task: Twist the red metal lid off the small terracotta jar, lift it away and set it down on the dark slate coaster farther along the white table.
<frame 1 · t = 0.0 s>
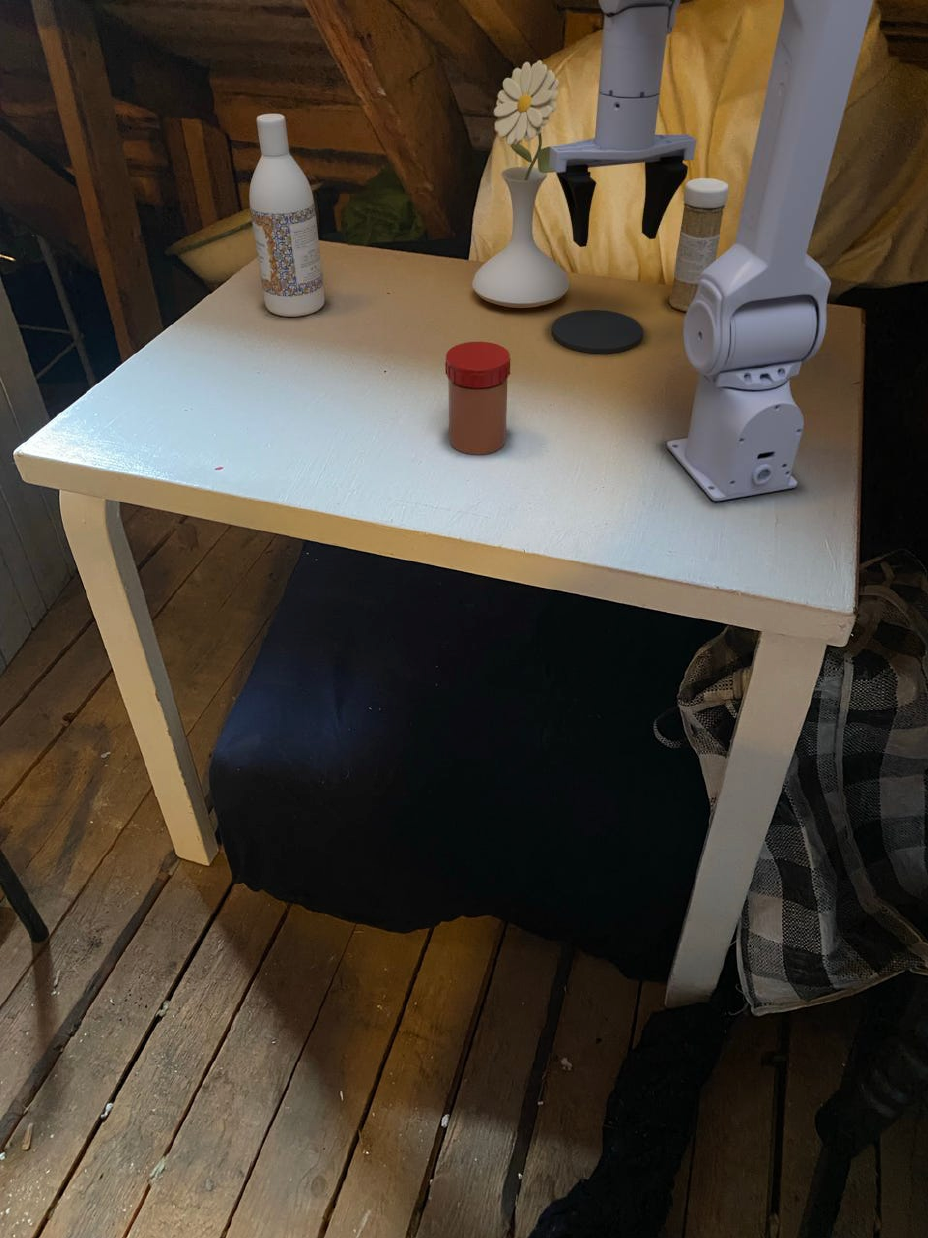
hand: (614, 239, 95), 10 cm above the table, tool pointing down, fingers open, 7 cm apart
coaster: (596, 333, 102), on the table
lid: (477, 359, 80), point 8 cm above the table, screwed on, not yet turned
bath foam: (295, 307, 108), on the table
jar: (477, 439, 85), on the table
sprinkles bottle: (687, 307, 107), on the table
flower in vase: (522, 301, 109), on the table
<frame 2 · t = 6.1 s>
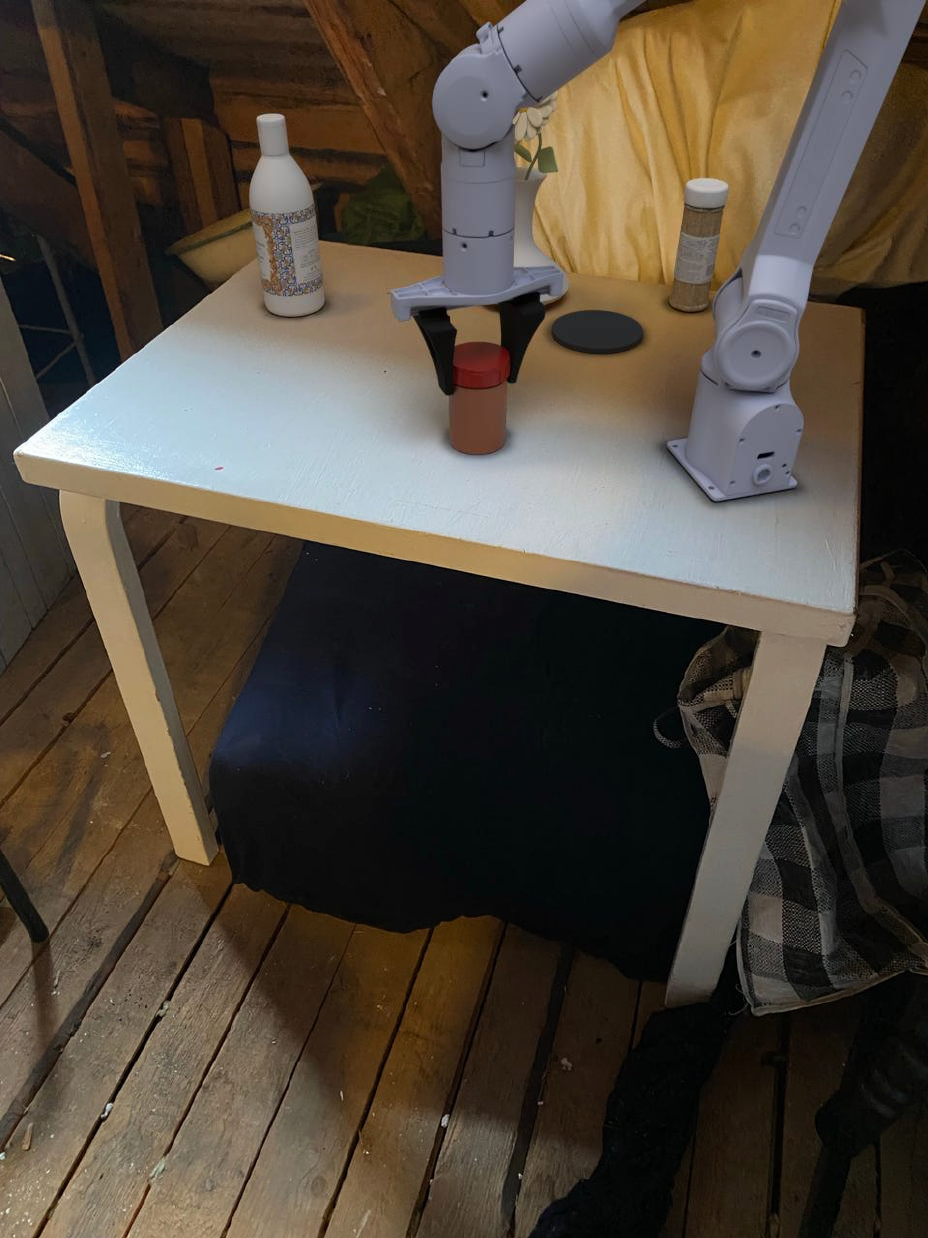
hand: (478, 384, 81), 6 cm above the table, tool pointing down, fingers closed on lid, 5 cm apart
lid: (477, 359, 80), point 8 cm above the table, screwed on, not yet turned, touching gripper
everything else where it was.
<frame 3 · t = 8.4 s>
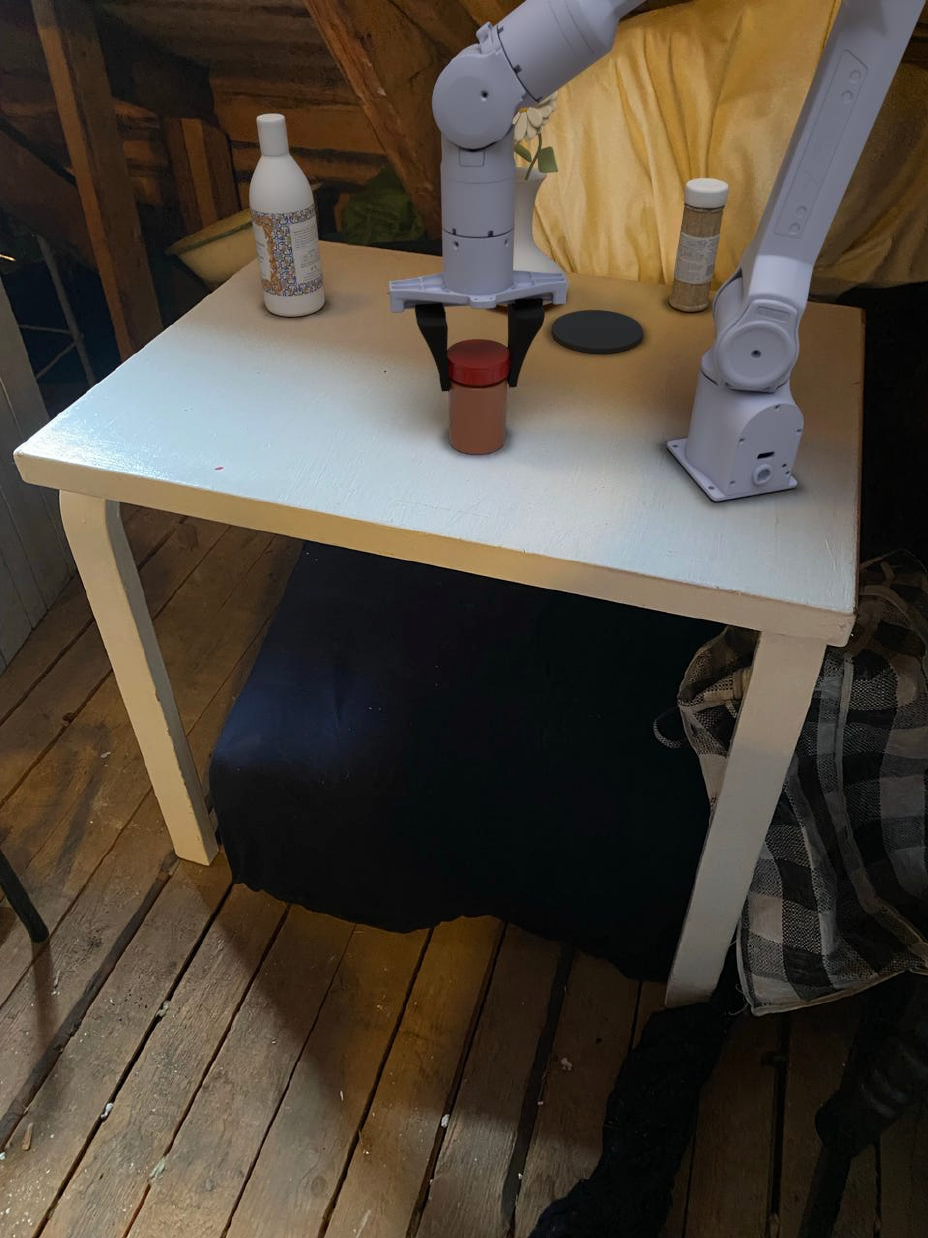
hand: (477, 384, 81), 6 cm above the table, tool pointing down, fingers closed on lid, 5 cm apart
lid: (478, 356, 80), point 8 cm above the table, off its thread, touching gripper
jar: (477, 439, 85), on the table, touching gripper
everything else where it was.
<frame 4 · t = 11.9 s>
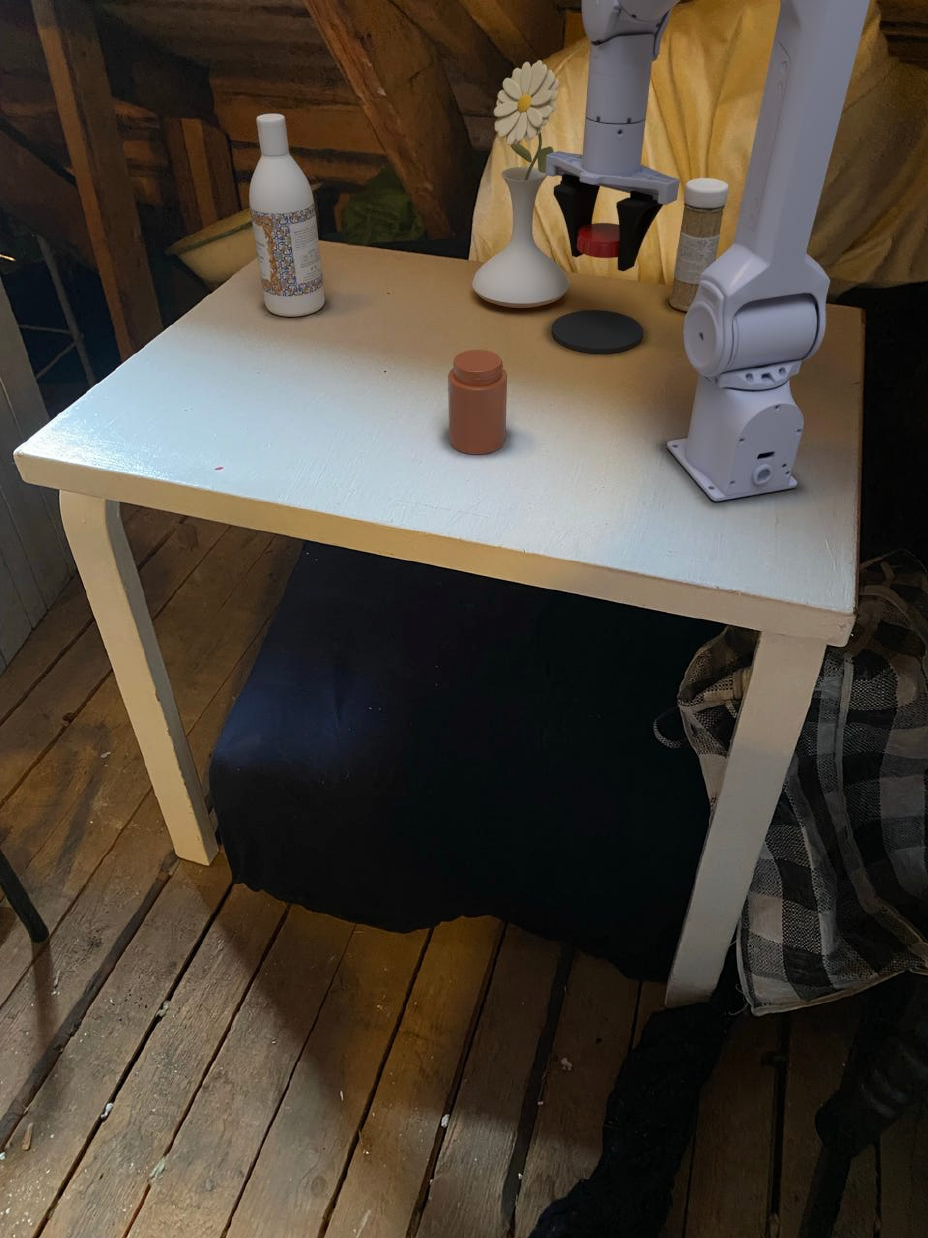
hand: (602, 260, 96), 8 cm above the table, tool pointing down, fingers closed on lid, 5 cm apart
lid: (605, 235, 94), point 11 cm above the table, off its thread, touching gripper
jar: (477, 439, 85), on the table
everything else where it was.
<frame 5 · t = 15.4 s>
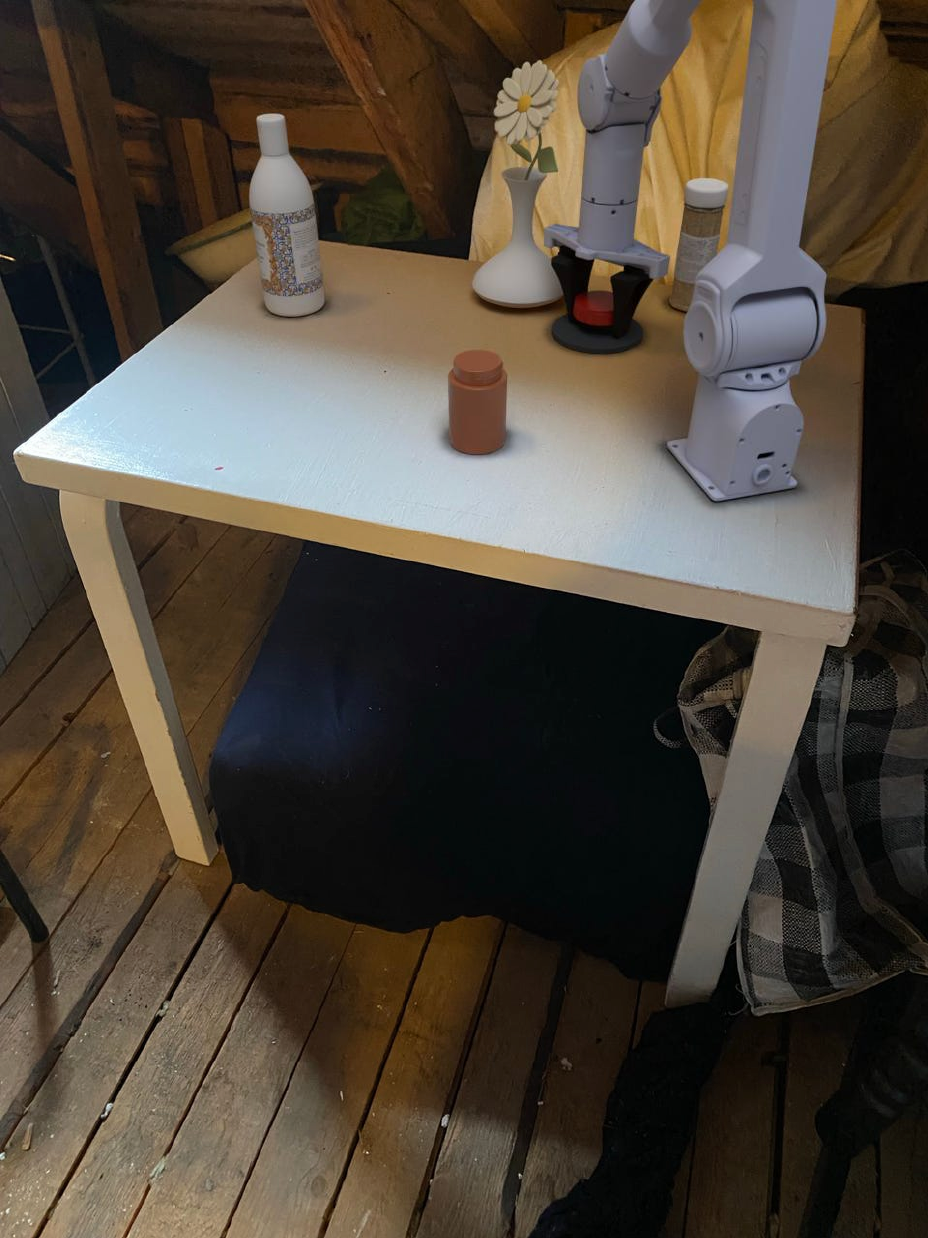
hand: (597, 326, 101), 1 cm above the table, tool pointing down, fingers closed on lid, 5 cm apart
lid: (600, 303, 99), point 3 cm above the table, off its thread, touching gripper
everything else where it was.
when the fingers open (1 cm above the table, at t = 21.2 s): lid drops 2 cm, resting on coaster.
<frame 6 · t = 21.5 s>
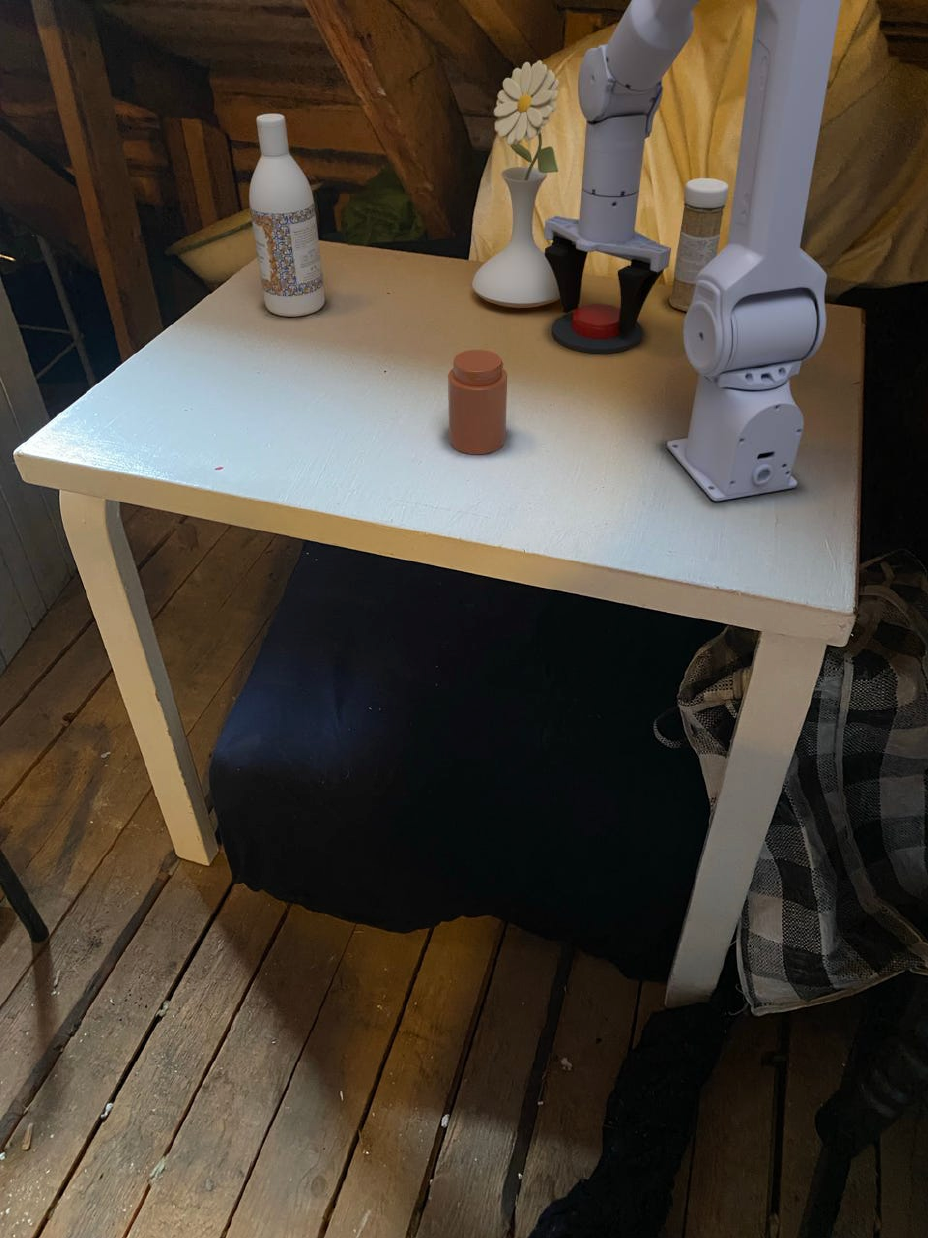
hand: (598, 319, 101), 2 cm above the table, tool pointing down, fingers open, 7 cm apart
lid: (598, 316, 100), point 2 cm above the table, off its thread, touching coaster
everything else where it was.
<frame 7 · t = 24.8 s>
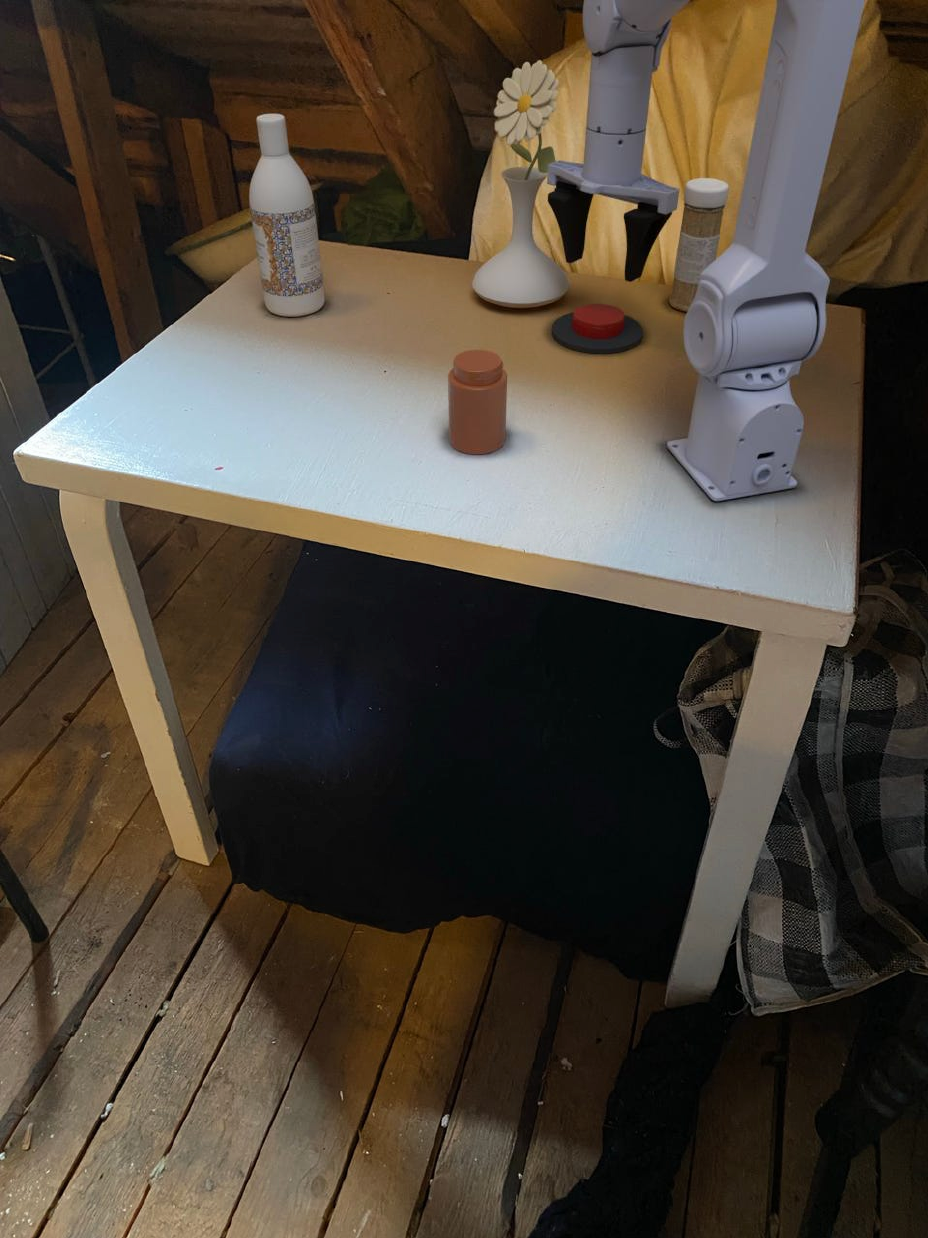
hand: (602, 269, 97), 7 cm above the table, tool pointing down, fingers open, 7 cm apart
nothing on the table moved.
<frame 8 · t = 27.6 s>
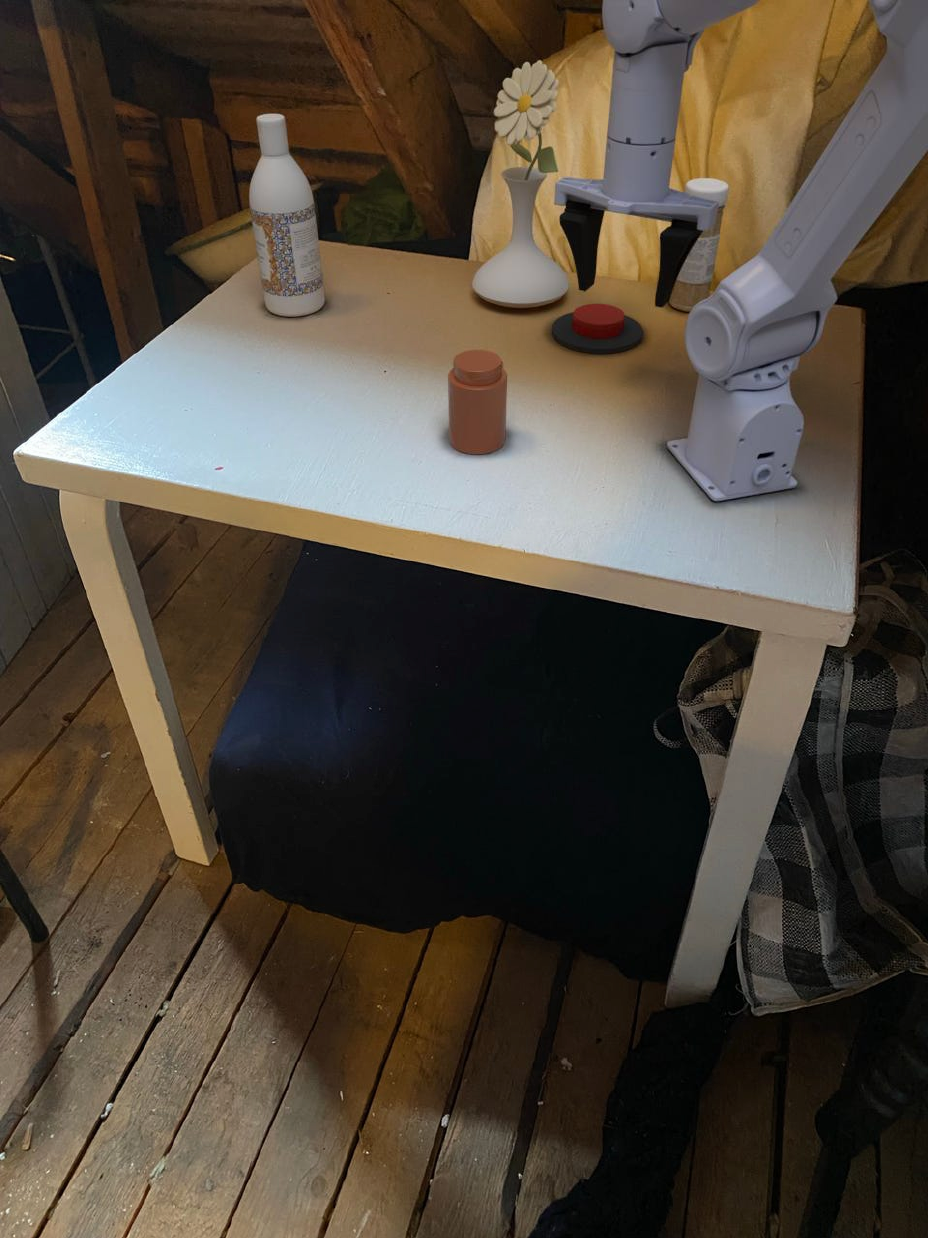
hand: (623, 295, 86), 9 cm above the table, tool pointing down, fingers open, 7 cm apart
nothing on the table moved.
at the end: lid 0.1 cm off-centre on the coaster, point 1.9 cm above the coaster's base; lid point 1.9 cm above the table; the gripper is holding nothing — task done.
